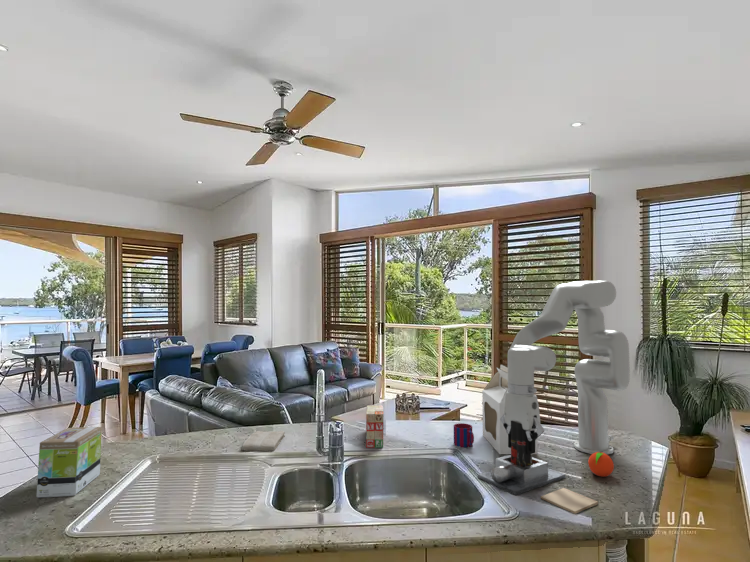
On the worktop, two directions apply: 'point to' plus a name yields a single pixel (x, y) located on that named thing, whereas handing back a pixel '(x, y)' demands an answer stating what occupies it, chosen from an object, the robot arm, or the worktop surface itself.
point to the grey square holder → (520, 475)
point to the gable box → (497, 412)
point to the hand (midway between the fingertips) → (521, 449)
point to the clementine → (600, 464)
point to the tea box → (69, 461)
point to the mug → (463, 435)
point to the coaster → (569, 500)
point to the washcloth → (263, 441)
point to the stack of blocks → (374, 426)
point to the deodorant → (519, 445)
